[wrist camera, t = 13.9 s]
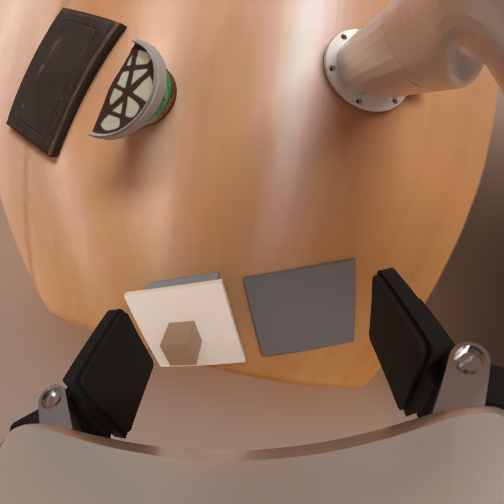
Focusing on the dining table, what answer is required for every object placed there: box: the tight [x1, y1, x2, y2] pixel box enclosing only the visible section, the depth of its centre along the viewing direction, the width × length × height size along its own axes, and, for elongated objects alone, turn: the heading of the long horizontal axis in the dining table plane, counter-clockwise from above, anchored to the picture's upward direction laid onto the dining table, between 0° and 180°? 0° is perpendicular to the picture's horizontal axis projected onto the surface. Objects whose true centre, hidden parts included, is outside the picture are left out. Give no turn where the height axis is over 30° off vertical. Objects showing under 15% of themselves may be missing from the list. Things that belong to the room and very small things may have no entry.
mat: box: [243, 259, 355, 357], centre depth 44 cm, size 17×17×1 cm
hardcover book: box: [6, 8, 127, 157], centre depth 27 cm, size 16×23×2 cm
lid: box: [124, 279, 246, 367], centre depth 37 cm, size 15×15×6 cm
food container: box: [87, 39, 177, 140], centre depth 26 cm, size 12×6×10 cm, turn 150°
